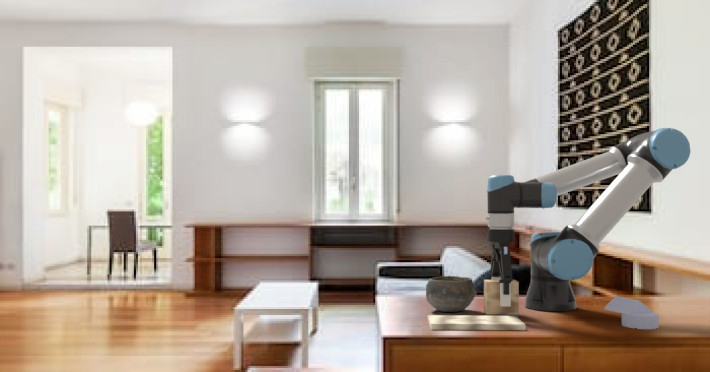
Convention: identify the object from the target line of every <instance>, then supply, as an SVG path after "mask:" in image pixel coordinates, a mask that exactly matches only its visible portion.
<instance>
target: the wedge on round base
mask: <svg viewBox="0 0 710 372" xmlns="http://www.w3.org/2000/svg"><path fill="white" fill-rule="evenodd" d="M603 310H604V311H610V312H615V313H620V314H621V316H620V317H621V326H622V327H624V328H631V329H635V328H637V330H657V329H659V328H660V320H659V318H660V314H659V313H657V312H655V311H654V312H653V310H652V309H650V308H649V307H648V306H646V304H644V303H643V302H642V301H641V300H638V299H633V298H629V297H623V296H617V295H615V296H614V297H613V298H612V299H611V300H610V301H609V302H608V303H607V304H606V305H605V306H604V307H603ZM656 328H657V329H656Z"/></svg>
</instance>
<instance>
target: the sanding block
mask: <svg viewBox="0 0 710 372" xmlns="http://www.w3.org/2000/svg"><path fill="white" fill-rule="evenodd" d="M519 283H520V282H519V281H518V280H516V279H513V281H511V307H509V306H500V283H499V280H492V279H483V315H484V316H516V317H517V318H520V313H519V312H520V307H519V306H520V301H519V299H520V298H519V297H520V293H519V287H520V286H519V285H520V284H519Z"/></svg>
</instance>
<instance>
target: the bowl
mask: <svg viewBox="0 0 710 372" xmlns="http://www.w3.org/2000/svg"><path fill="white" fill-rule="evenodd" d="M475 288H476V287H475V285H474V282H473V279H472V278H471V277H465V276H458V275H457V276H455V275H447V276H445V275H443V276H436V277H432V278H431V277H430V278H429V279H428V281H427V283H426V285H425V297H426V301H427V302H428V303H429V304H430V306H432V308H434V309H435V310H436V311H439V312H443V313H449V312H452V313H454V312H456V313H457V312H462V311H465V309H467V308H468V307H470V305H471V304H472V302H473V301H474V299H475V297H476V295H477V293H478V292H477V290H476V289H475Z"/></svg>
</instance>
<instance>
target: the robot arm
mask: <svg viewBox="0 0 710 372" xmlns="http://www.w3.org/2000/svg"><path fill="white" fill-rule="evenodd" d="M690 155H691V144H690V141H689V139H688V137H687V136H686V135H685V134H684V133H683V132H682V131H680V130H678V129H676V128H673V127H663V128H658V129H655V130H652V131H648V132H642V133H640V134H638V135H635V136H633V137H631V138H629V139H628V140H625V141H623V142H621V143H619V144H617V145H614V146H611V147H610V148H609V150H608V151H606V152H604V153H602V154H598V155H596V156H593V157H590V158H588V159H587V158H586V159H585V160H582V161H579V162H577V163H573V164H571V165H568V166H566V167H563V168H560V169H556V170H554V171H551V172H549V173H546V174H543V175H540V176H537V177H535V178H532V179H529V180H526V181H525V182H523V181H522V182H521V181H520V182H519V181H515V177H514V175H512V174H511V175H510V174H508V175H507V174H496V175H495V174H494V175H493V174H492V175H491V176H489V177H488V179H487V190H486V193H487V216H486V217H485V220H486V221H487V227H488V230H487V241H488V242H489V243H492V244H491V257H490V258H491V259H490V260H491V261H490V269H489V273H490V276H491V280H499V283H500V306H509V307H511V281H513V280H514V279H513V270H512V261H511V247H510V246H508V244H507V243H513V242H514V241H515V230H514V229H513V228H514V227H515V208H516V209H551V208H554V207H555V206H556V204H557V200H558V196H561V195H563V194H566V193H568V192H569V193H570V192H573V191H576V190H578V189H580V188H583V187H586V186H590V185H592V184H595V183H597V182H598V183H599V182H600V181H603V180H605V179H609V178H611V177H614V176H616V175H617V176H616V177H615V178H614V179H613V181H612V182H611V183H610V184H609V185H608V186H607V187H606V189H604V191H603V192H602V193H601V194H600V195H599V197H598V198H597V199H596V200H595V201H594V202H593V203H592V205H590V206H589V208H588V209H587V210H586V211H585V212H584V213H583V215H581V217H580V218H579V219H578V220H577V221H575V223H574V224H569V225H566V226H565V227H564V228H563V229H562V230H561V231H560V232H559V231H553V232H552V231H548V232H546V231H544V232H537V233H536V232H535V233H533V234H532V235H531V237H530V243H529V246H530V282H529V287H528V290H527V292H526V296H525V300H524V303H525V305H524V306H525V308H528V309H531V310H537V311H545V312H546V311H547V312H548V311H549V312H568V311H575V310H577V301H576V297H575V294H574V290H573V288H572V285H571V281H575V280H580V279H581V278H584V277H586V275H587V274H589V273H590V271H591V270H592V267H593V265H594V259H595V258H596V256H597V255H598V254H599V253H600V243H601V242H602V241H603V240H604V239H605V238H606V237H607V235H608V234H609V233H610V232H611V231H612V230H613V229H614V227H616V225H617V224H618V223H619V222H620V221H621V220H622V218H624V216H626V215H627V213H628V212H629V211H630V210H631V209H632V207H633V206H634V205H635V204H636V203H637V202H638V200H640V198H641V197H642V196H643V195H644V194H645V193H646V191H648V189H649V188H650V187H651V186H652V185H653V184H655V183H662V182H663V181H664V180H665V178H666V177H668V175H669V174H670V173H671V172H672V171H673V170H675V169H678V168H680V167H682V166H684V165H685V164H686V163H687V162H688V160H689V158H690Z"/></svg>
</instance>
